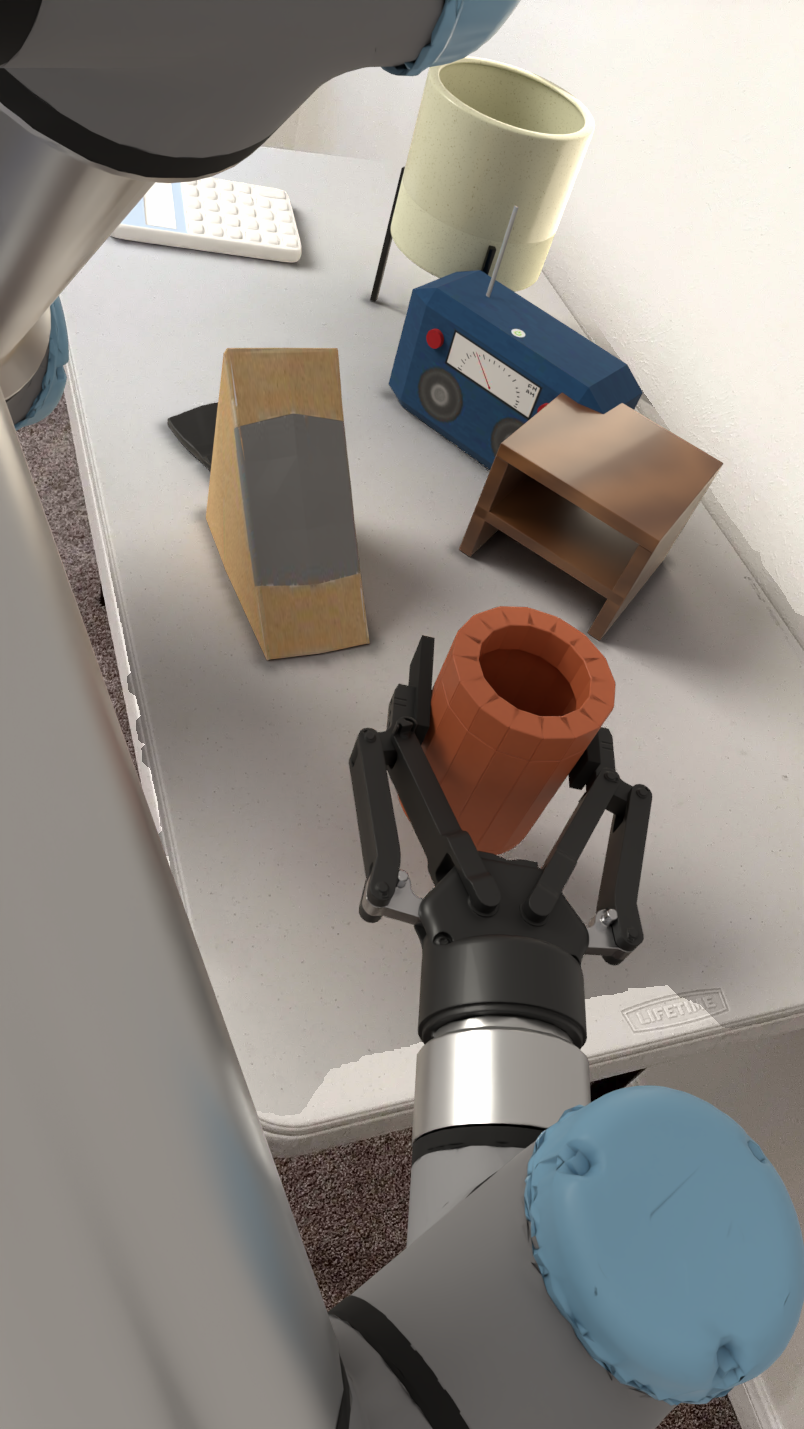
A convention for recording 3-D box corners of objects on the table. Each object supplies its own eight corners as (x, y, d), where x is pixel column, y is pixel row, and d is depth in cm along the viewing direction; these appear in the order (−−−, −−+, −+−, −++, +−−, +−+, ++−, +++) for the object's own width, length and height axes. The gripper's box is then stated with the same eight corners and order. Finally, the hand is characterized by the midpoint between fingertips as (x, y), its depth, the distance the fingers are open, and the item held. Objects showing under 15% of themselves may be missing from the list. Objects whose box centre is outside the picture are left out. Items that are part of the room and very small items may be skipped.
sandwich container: (263, 663, 69) (298, 499, 58) (201, 515, 77) (221, 345, 66) (373, 645, 73) (426, 488, 62) (303, 506, 81) (339, 343, 69)
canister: (367, 796, 58) (421, 667, 49) (444, 712, 63) (505, 581, 54) (490, 885, 56) (570, 769, 47) (558, 791, 62) (640, 670, 53)
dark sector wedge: (347, 449, 87) (350, 434, 86) (215, 487, 79) (218, 471, 78) (293, 393, 90) (296, 378, 89) (161, 425, 82) (163, 408, 81)
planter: (400, 273, 108) (462, 38, 91) (528, 336, 107) (616, 109, 89) (338, 327, 98) (393, 75, 81) (478, 397, 97) (564, 156, 80)
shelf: (458, 549, 82) (500, 442, 74) (534, 479, 91) (579, 377, 83) (599, 641, 80) (659, 541, 71) (663, 560, 88) (724, 462, 80)
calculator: (301, 266, 104) (305, 249, 102) (104, 238, 98) (104, 219, 96) (286, 203, 111) (288, 186, 110) (102, 173, 105) (102, 155, 104)
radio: (375, 400, 93) (429, 185, 78) (431, 373, 98) (492, 166, 83) (549, 524, 87) (643, 318, 72) (599, 488, 93) (696, 289, 77)
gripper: (247, 1040, 45) (308, 670, 59) (687, 1108, 48) (645, 743, 62) (272, 975, 39) (333, 582, 53) (769, 1057, 42) (702, 668, 56)
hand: (501, 669), depth 58 cm, fingers closed on canister, 9 cm apart
